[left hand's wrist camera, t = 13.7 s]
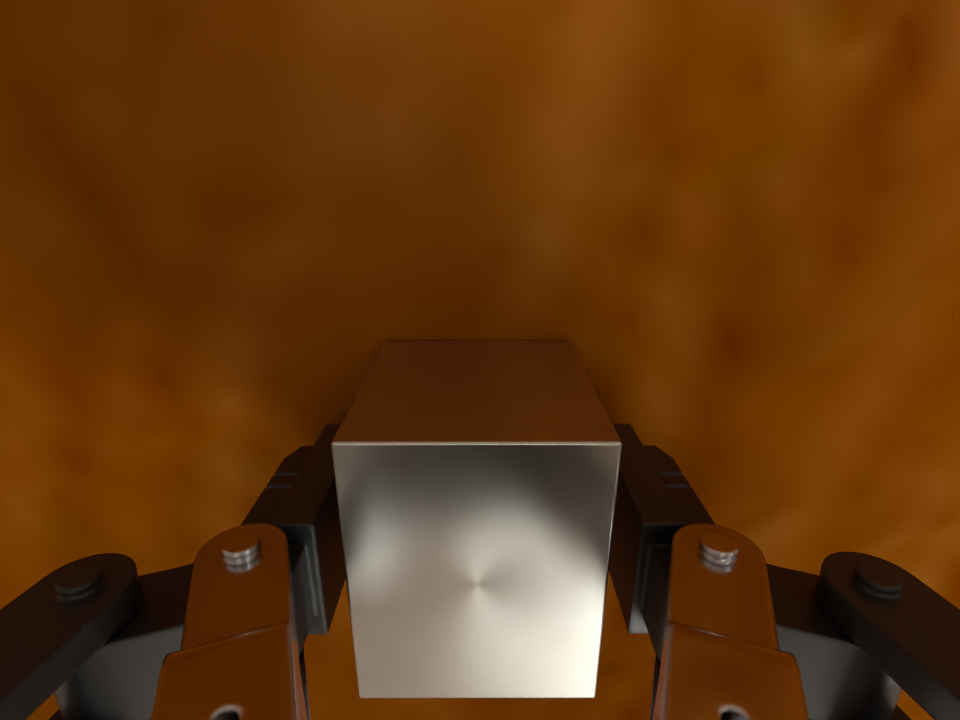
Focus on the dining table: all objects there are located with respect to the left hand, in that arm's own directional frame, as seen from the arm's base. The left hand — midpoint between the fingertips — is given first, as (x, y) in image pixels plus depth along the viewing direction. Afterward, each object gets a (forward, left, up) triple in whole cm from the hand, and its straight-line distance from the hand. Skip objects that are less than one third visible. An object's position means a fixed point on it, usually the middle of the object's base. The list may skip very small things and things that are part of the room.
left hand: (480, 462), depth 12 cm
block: (0, 0, -1) cm, 1 cm away
